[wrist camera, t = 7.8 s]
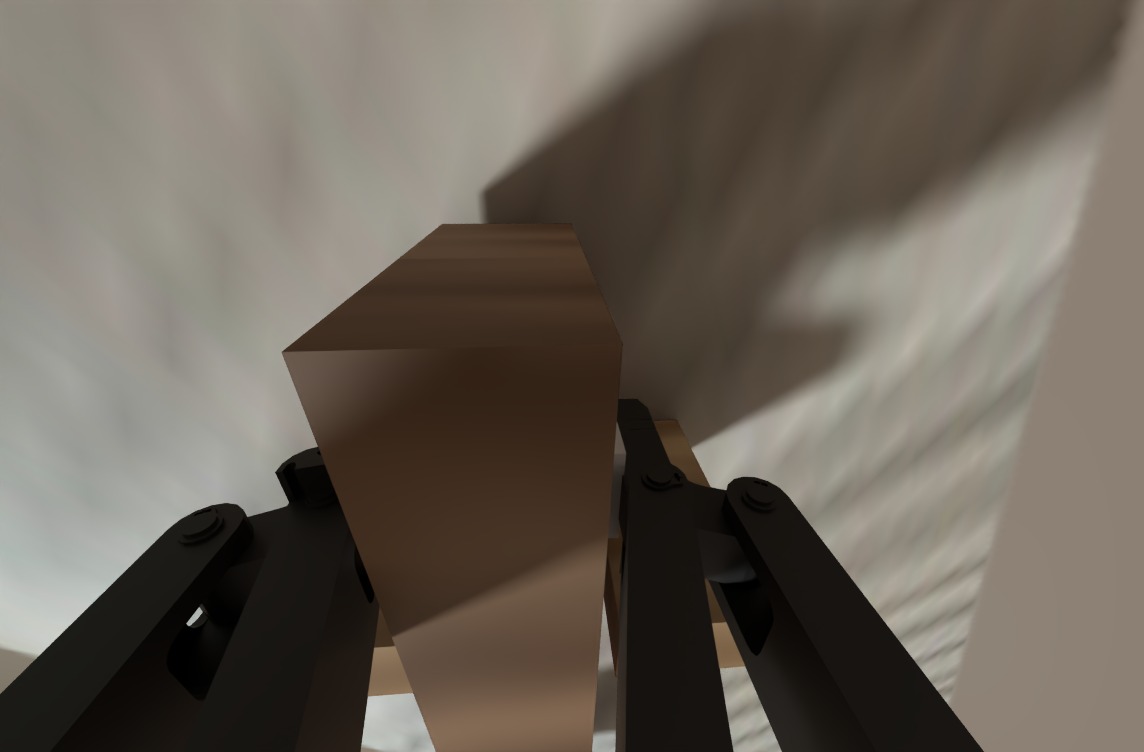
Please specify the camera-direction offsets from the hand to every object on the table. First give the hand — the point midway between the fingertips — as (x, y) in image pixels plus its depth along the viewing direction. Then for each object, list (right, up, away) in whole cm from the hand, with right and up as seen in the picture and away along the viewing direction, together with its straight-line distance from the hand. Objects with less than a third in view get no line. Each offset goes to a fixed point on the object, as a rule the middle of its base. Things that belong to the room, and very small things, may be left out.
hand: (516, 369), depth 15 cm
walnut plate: (0, -2, +1) cm, 2 cm away
